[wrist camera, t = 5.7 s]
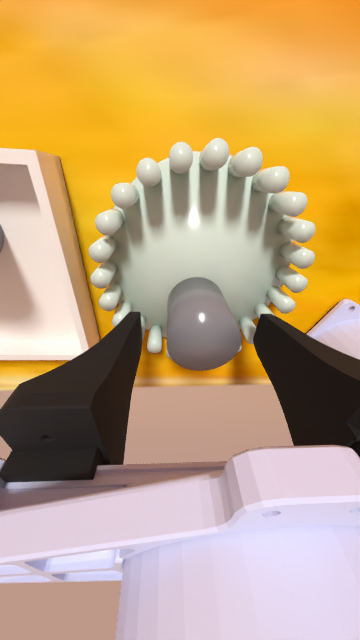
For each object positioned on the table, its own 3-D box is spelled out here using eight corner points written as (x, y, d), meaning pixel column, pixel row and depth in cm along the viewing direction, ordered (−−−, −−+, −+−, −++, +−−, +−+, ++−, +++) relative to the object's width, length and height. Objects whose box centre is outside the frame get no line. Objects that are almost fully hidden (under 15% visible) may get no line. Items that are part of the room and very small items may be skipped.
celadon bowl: (325, 155, 11) (364, 147, 9) (262, 339, 18) (275, 361, 15) (82, 139, 10) (58, 127, 8) (115, 338, 17) (107, 361, 15)
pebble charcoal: (234, 291, 14) (257, 329, 10) (205, 333, 16) (215, 377, 12) (183, 267, 13) (188, 300, 9) (158, 314, 15) (154, 358, 11)
